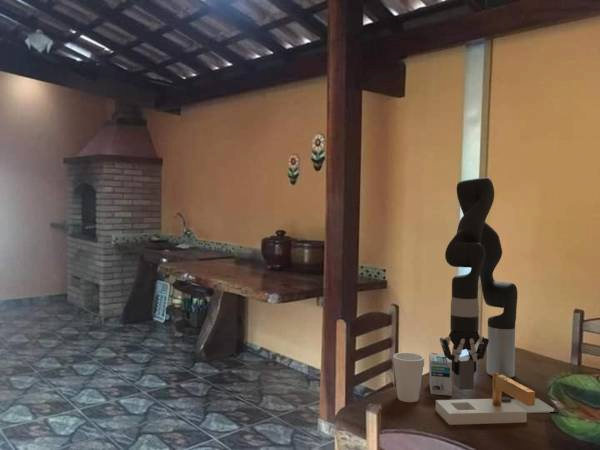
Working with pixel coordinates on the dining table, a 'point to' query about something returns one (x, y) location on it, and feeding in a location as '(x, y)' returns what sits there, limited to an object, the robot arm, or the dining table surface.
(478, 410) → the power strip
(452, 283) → the robot arm
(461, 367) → the plug
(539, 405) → the mat
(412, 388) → the foam cup
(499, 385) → the orange lever handle
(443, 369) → the light bulb box
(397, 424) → the dining table surface
